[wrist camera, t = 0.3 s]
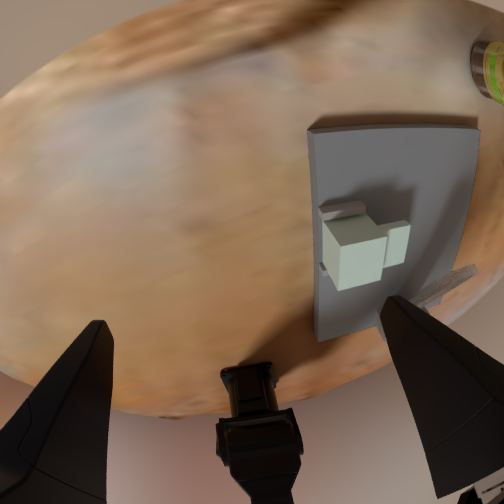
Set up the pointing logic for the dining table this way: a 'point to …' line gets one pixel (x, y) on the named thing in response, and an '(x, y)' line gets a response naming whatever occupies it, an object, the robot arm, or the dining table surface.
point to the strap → (444, 285)
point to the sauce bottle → (489, 69)
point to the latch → (361, 248)
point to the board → (390, 209)
